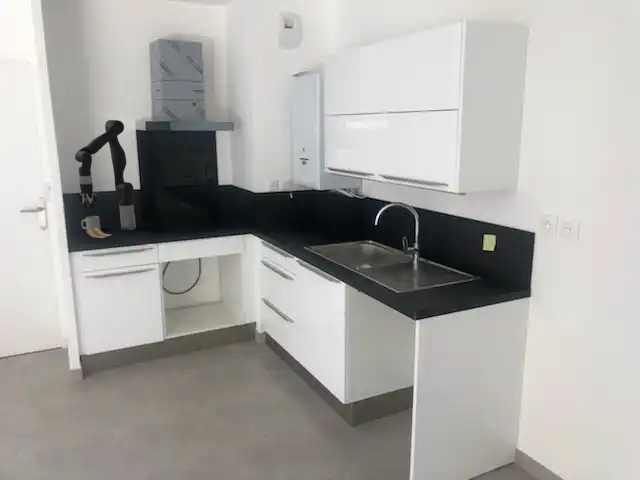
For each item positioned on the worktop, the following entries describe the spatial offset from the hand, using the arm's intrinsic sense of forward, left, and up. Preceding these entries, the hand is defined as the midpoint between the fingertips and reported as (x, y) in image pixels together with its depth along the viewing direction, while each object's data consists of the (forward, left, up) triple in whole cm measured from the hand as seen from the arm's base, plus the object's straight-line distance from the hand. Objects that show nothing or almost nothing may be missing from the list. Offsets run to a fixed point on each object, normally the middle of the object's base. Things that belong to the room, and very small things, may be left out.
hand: (88, 208), depth 340 cm
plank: (-2, +2, -17) cm, 17 cm away
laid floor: (-1, +4, -19) cm, 20 cm away
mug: (-12, -9, -19) cm, 25 cm away
